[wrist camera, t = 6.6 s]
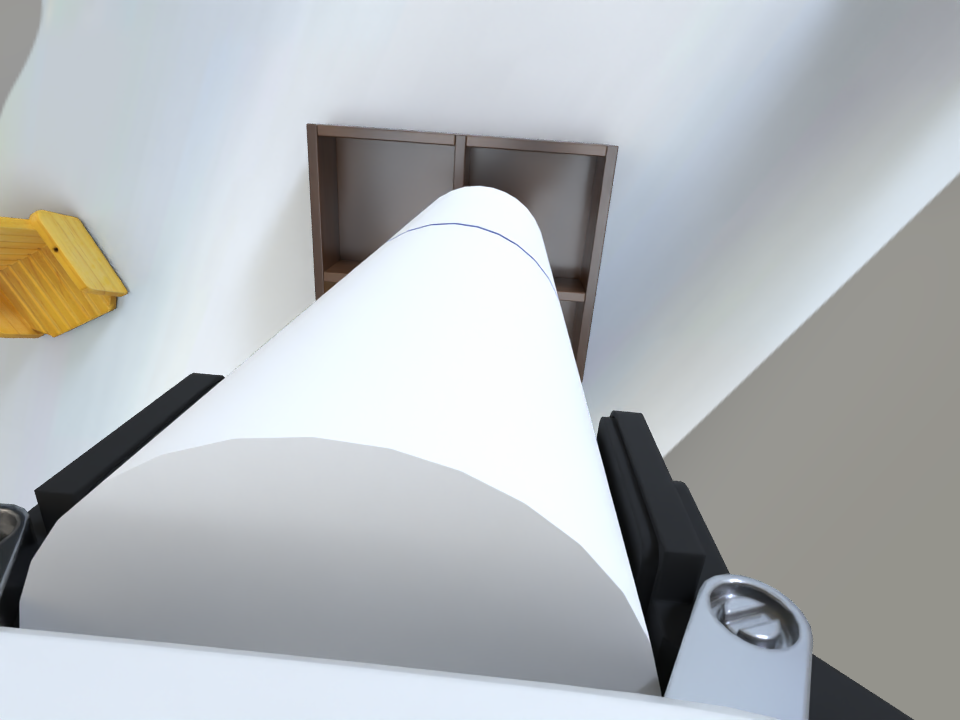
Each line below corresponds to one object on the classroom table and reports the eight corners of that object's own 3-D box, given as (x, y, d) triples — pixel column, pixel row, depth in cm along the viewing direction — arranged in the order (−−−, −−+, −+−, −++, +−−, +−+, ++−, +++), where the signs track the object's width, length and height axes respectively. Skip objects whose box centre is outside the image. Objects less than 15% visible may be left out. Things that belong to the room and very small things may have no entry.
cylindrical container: (568, 221, 28) (804, 610, 5) (509, 339, 31) (494, 941, 8) (441, 161, 28) (59, 307, 4) (391, 287, 30) (-6, 786, 7)
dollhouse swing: (41, 343, 48) (-61, 389, 39) (-35, 242, 45) (-165, 268, 36) (135, 299, 46) (49, 337, 37) (62, 190, 43) (-52, 205, 34)
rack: (607, 144, 39) (618, 145, 35) (570, 396, 47) (575, 423, 42) (328, 124, 40) (305, 123, 35) (338, 376, 47) (320, 400, 43)
